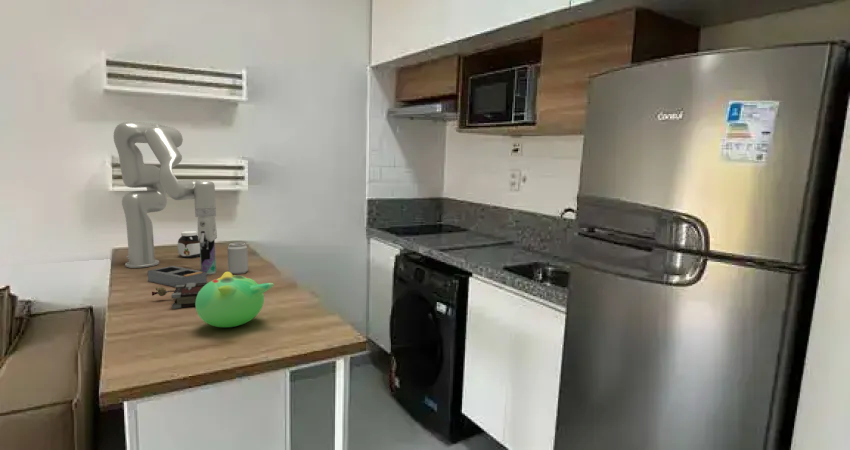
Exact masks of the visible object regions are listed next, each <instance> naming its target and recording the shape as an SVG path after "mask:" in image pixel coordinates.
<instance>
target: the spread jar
mask: <svg viewBox="0 0 850 450" xmlns="http://www.w3.org/2000/svg"><path fill="white" fill-rule="evenodd" d="M180 233H181V234H180V235H181V237H179V239H178V240H177V251H178V255H179V256H180V257H181V258H183V259H195V258H198V257H200V242H199V241H198V230H197V231H196V230H185V231H181V232H180Z"/></svg>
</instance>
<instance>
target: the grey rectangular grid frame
mask: <svg viewBox="0 0 850 450" xmlns="http://www.w3.org/2000/svg"><path fill="white" fill-rule="evenodd" d="M147 280H148V282H149V283H150V282H151V283H155V284H160V285H164V286H170V287H174V288H176V285H180V284H187V283H208V276H207V272H204V271H201V270H198V269H197V270H196V269H191V268H188V267H187V268H185V267H181V266H176V265H169V266H166V267H159V268H154V269H149V270H147Z"/></svg>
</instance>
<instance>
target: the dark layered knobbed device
mask: <svg viewBox="0 0 850 450" xmlns="http://www.w3.org/2000/svg"><path fill="white" fill-rule="evenodd" d="M207 283H208V282H207ZM207 283H187V284H180V285H176V287H175V289H173V290H166V288H165V287H155V290H156V291H151V296H153V297H154V296H155V295H158V296H160V297H164V296H165V295H166V294H167V293H169V292H170V293H171V292H172V294H171V296H170V297H171V299H175V300H174V302H173V303H172V305H171V309H172V310H176V309H182V308H188V307H189V308H190V307H196V306H195V302H196V297H197V295H198V293H199V291H200V290H201V289H202V288H203V287H204V286H205V285H206V284H207Z"/></svg>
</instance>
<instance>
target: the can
mask: <svg viewBox="0 0 850 450" xmlns="http://www.w3.org/2000/svg"><path fill="white" fill-rule="evenodd" d="M226 250H227V266H228V267H227V268H228V271H227V272H230V273H232V275H241V274H246V273H247V272H248V271H249V263H248V262H249V261H248V258H249V257H248V246H247V245H246V243H245V242H231V243H229V244H228V247H227V249H226Z"/></svg>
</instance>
